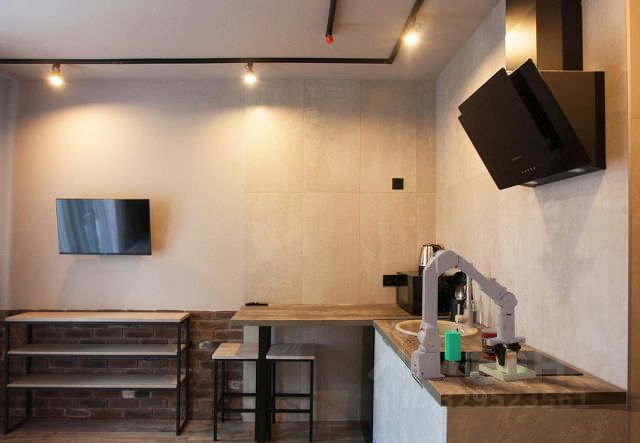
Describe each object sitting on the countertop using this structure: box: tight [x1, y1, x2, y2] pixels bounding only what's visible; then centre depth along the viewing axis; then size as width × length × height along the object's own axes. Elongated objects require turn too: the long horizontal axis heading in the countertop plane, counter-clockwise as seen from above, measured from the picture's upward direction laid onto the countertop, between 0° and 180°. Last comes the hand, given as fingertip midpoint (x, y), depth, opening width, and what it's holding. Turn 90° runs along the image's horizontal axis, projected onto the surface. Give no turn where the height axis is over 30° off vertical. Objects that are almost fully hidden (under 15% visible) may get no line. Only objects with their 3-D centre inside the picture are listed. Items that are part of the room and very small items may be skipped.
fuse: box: [495, 349, 518, 374], centre depth 155 cm, size 4×6×7 cm, turn 16°
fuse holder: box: [464, 371, 500, 387], centre depth 147 cm, size 7×9×2 cm
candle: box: [444, 328, 462, 362], centre depth 176 cm, size 6×6×12 cm
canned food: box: [481, 327, 497, 361], centre depth 178 cm, size 8×8×11 cm
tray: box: [478, 362, 537, 382], centre depth 155 cm, size 13×13×2 cm
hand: (506, 365), depth 155 cm, fingers closed on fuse, 3 cm apart
